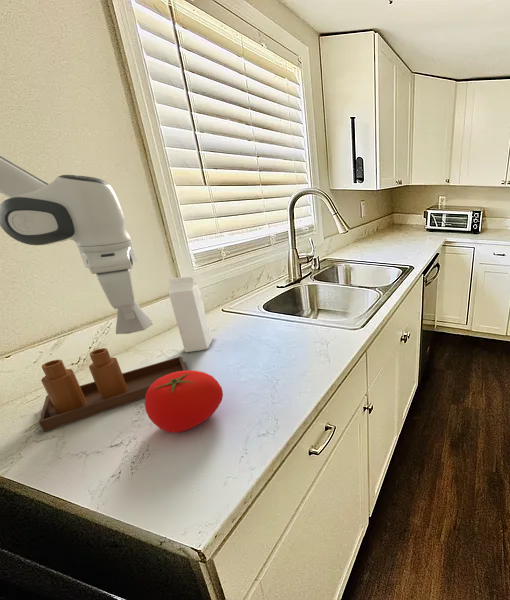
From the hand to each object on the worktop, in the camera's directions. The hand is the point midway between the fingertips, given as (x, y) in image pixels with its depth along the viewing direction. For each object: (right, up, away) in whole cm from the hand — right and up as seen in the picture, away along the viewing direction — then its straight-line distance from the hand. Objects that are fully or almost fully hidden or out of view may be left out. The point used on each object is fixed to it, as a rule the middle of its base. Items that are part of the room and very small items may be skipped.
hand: (129, 314), depth 75 cm
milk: (+1, -11, +25) cm, 27 cm away
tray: (-4, -19, +3) cm, 20 cm away
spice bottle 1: (-11, -21, -2) cm, 24 cm away
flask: (0, -4, +1) cm, 4 cm away
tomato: (+18, -23, -6) cm, 30 cm away
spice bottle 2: (-6, -19, +3) cm, 20 cm away
